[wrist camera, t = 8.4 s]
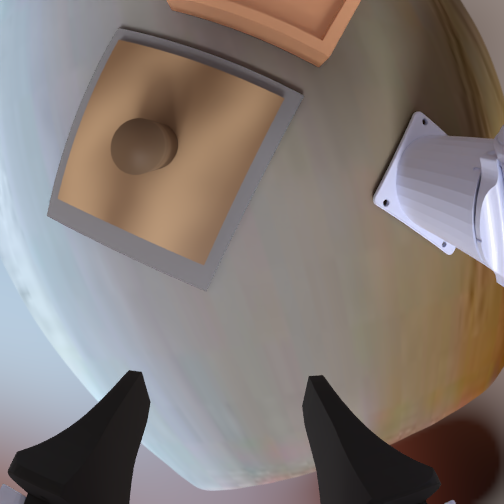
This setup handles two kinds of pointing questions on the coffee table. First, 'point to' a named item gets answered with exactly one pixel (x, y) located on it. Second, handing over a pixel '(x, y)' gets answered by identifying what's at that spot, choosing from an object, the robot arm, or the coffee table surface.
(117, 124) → the lid
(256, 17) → the dish
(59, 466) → the robot arm
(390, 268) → the coffee table surface
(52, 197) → the mat
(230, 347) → the coffee table surface
